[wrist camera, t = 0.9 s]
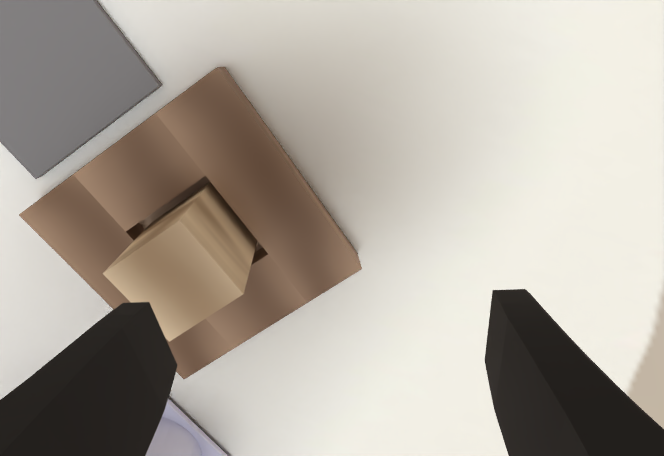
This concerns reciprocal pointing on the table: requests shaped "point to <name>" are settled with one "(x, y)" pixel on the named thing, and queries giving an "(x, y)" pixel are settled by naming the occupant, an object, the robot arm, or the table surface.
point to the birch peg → (187, 262)
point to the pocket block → (182, 181)
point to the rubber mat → (63, 78)
